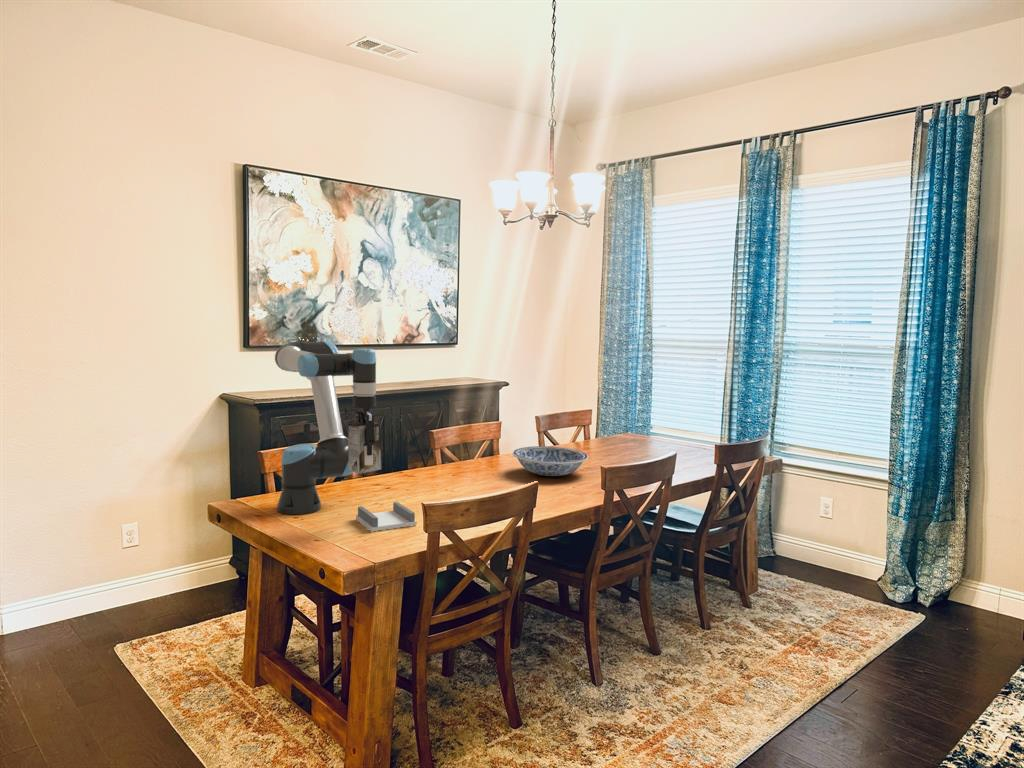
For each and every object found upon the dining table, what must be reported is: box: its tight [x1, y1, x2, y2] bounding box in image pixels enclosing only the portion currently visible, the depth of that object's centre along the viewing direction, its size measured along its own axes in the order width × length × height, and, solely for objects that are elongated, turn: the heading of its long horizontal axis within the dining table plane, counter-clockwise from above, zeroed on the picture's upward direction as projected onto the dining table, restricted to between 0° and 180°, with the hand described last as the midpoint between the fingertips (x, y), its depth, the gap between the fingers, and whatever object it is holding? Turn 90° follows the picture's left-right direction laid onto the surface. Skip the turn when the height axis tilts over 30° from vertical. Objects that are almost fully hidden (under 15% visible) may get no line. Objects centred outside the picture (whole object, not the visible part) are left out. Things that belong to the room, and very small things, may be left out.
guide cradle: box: [355, 501, 417, 533], centre depth 243 cm, size 16×16×4 cm
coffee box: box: [347, 421, 382, 475], centre depth 237 cm, size 9×6×16 cm
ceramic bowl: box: [512, 445, 589, 477], centre depth 321 cm, size 34×34×10 cm
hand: (365, 462), depth 237 cm, fingers closed on coffee box, 8 cm apart
